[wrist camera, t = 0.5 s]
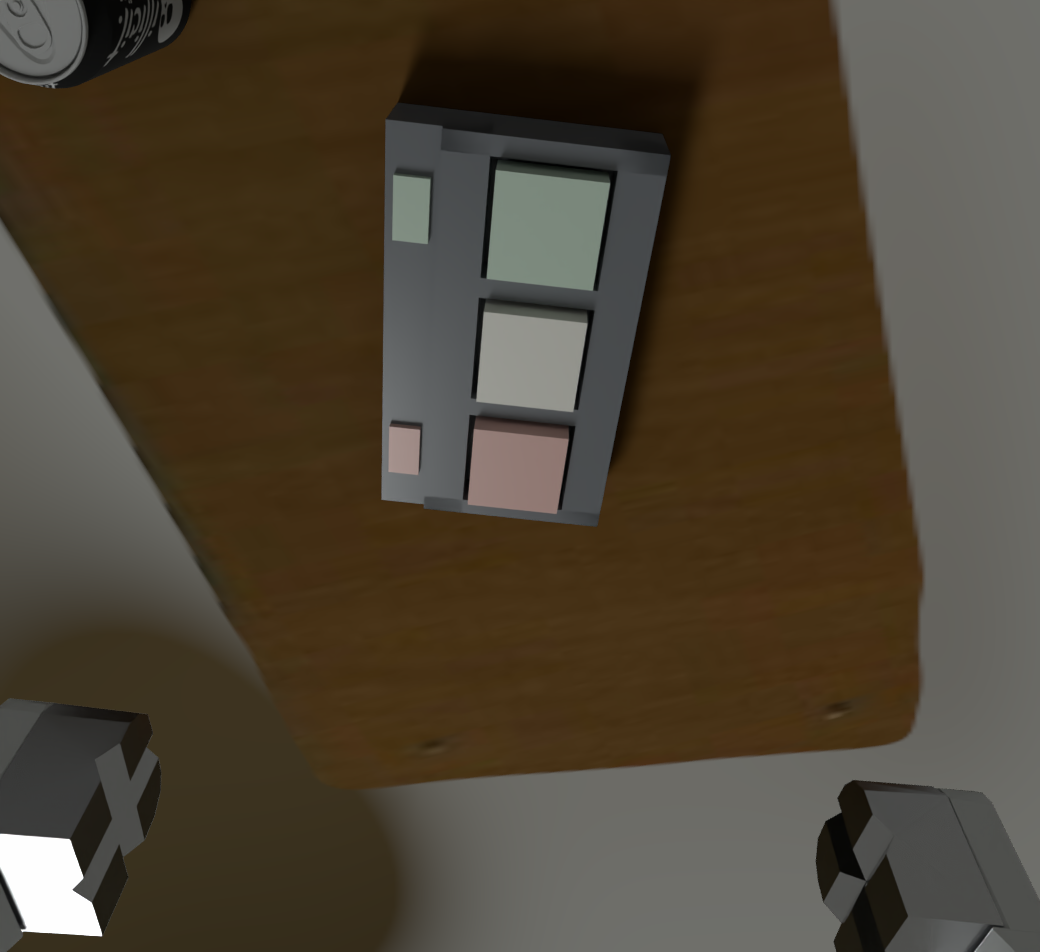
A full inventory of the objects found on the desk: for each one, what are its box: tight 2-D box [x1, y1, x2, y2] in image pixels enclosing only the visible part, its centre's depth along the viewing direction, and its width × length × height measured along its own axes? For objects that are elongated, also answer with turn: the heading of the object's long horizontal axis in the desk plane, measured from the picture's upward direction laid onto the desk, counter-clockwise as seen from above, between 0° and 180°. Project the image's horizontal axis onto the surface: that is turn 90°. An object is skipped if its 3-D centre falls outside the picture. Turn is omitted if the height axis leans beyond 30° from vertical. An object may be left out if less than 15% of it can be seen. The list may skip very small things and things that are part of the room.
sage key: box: [487, 160, 610, 291], centre depth 47 cm, size 6×6×2 cm
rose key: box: [468, 416, 569, 514], centre depth 56 cm, size 6×6×2 cm
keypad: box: [382, 103, 671, 527], centre depth 53 cm, size 25×15×4 cm, turn 174°
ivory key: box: [476, 298, 587, 412], centre depth 52 cm, size 6×6×2 cm
